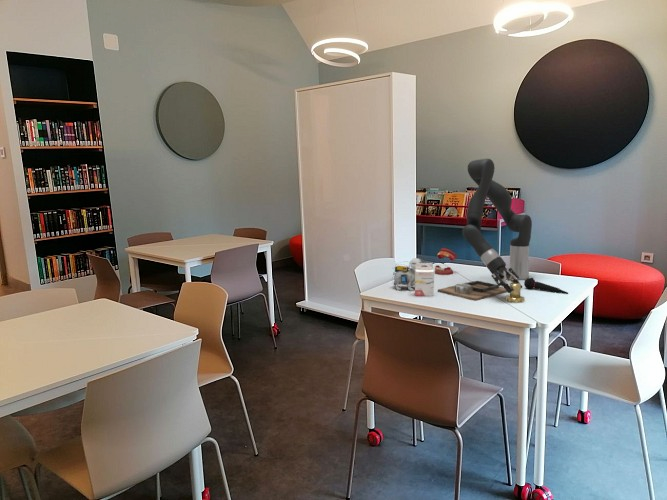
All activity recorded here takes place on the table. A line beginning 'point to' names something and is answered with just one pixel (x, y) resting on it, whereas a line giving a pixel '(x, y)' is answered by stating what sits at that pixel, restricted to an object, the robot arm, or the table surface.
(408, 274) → the robotic toy
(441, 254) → the anatomical model
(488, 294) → the carrier plate
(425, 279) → the ink cartridge box
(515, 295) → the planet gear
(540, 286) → the microphone
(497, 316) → the table surface
